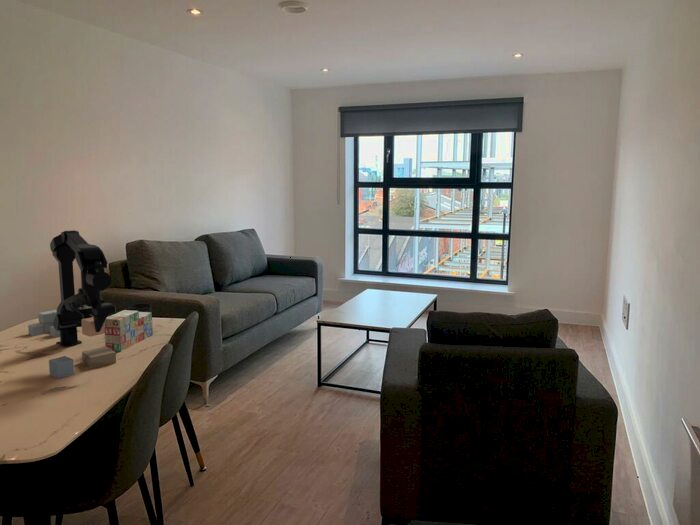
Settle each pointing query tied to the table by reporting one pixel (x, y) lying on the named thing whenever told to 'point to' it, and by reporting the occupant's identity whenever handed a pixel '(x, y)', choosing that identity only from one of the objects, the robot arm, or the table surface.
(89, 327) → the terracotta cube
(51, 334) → the pale blue stepped block
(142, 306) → the pen holder
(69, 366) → the slate cube
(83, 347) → the table surface
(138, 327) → the stack of blocks
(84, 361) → the taupe faceted block
